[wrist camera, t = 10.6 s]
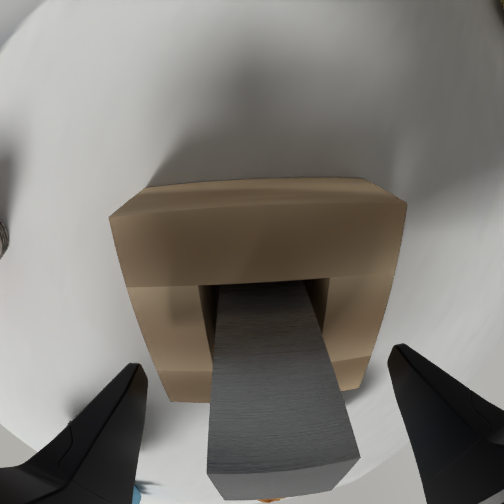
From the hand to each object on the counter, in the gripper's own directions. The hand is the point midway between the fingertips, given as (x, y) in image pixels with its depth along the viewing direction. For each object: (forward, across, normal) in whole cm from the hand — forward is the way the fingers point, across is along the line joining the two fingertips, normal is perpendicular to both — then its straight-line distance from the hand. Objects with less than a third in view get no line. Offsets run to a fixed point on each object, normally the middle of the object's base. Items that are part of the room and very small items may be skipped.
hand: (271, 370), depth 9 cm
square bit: (+6, 0, 0) cm, 6 cm away
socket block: (+6, 0, 0) cm, 6 cm away
